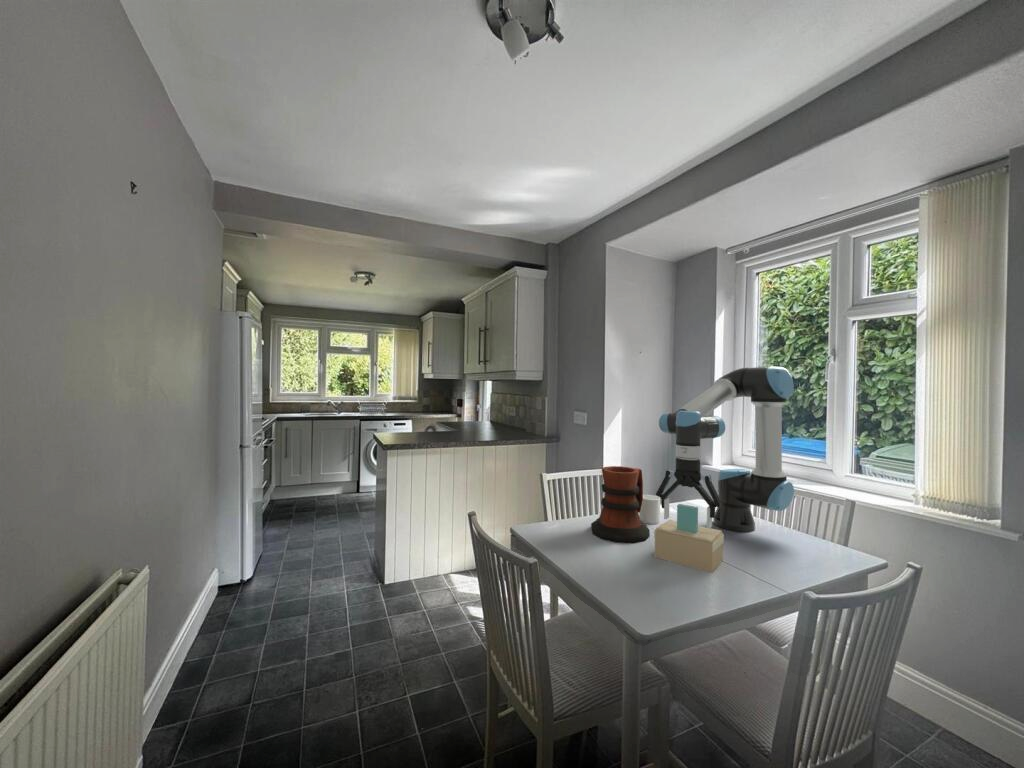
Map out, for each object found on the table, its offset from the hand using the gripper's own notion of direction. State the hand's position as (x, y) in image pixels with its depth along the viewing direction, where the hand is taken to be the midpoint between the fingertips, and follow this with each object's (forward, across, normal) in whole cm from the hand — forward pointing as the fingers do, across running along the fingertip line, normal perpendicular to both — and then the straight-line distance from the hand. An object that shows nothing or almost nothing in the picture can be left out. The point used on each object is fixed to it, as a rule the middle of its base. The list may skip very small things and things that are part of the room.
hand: (687, 522), depth 139 cm
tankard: (+12, -28, +10) cm, 32 cm away
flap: (+3, 0, -2) cm, 3 cm away
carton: (+12, 0, +1) cm, 12 cm away
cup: (+12, -27, +31) cm, 43 cm away
